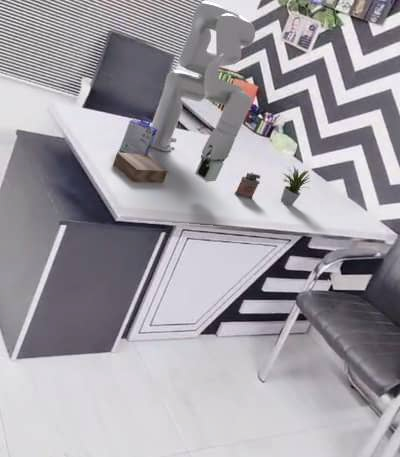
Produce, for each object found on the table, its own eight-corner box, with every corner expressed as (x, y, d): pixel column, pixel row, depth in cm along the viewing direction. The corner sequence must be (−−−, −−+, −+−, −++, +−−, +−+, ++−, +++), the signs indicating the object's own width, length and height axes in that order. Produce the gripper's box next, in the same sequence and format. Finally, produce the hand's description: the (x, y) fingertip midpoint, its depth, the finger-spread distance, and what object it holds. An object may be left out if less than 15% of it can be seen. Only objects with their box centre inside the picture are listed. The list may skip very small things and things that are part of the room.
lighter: (236, 196, 201) (247, 173, 197) (233, 192, 204) (243, 169, 200) (253, 199, 206) (264, 177, 202) (249, 195, 208) (259, 173, 204)
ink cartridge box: (147, 158, 199) (160, 123, 193) (142, 161, 194) (156, 125, 188) (124, 147, 200) (136, 112, 194) (118, 150, 195) (131, 114, 189)
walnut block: (143, 167, 190) (148, 154, 188) (163, 183, 184) (168, 171, 182) (112, 165, 180) (117, 152, 178) (132, 182, 174) (137, 169, 172)
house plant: (276, 191, 228) (293, 157, 222) (304, 206, 224) (322, 173, 218) (266, 196, 216) (283, 161, 209) (295, 213, 212) (314, 178, 205)
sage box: (204, 172, 185) (212, 155, 182) (215, 180, 183) (223, 163, 180) (195, 173, 181) (203, 155, 178) (206, 181, 178) (214, 163, 176)
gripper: (233, 123, 182) (212, 168, 190) (204, 121, 169) (183, 170, 176) (249, 133, 179) (227, 179, 187) (221, 132, 165) (199, 182, 173)
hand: (206, 174), depth 181 cm, fingers closed on sage box, 5 cm apart
